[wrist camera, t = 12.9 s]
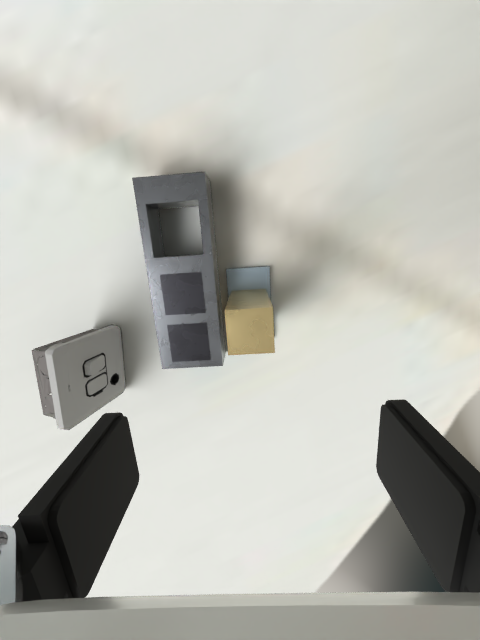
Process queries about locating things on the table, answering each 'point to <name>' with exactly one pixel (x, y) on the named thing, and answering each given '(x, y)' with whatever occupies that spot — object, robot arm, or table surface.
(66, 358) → the electrical switch
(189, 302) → the rail
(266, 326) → the brass peg
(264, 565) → the table surface
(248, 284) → the rubber mat
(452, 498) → the robot arm
